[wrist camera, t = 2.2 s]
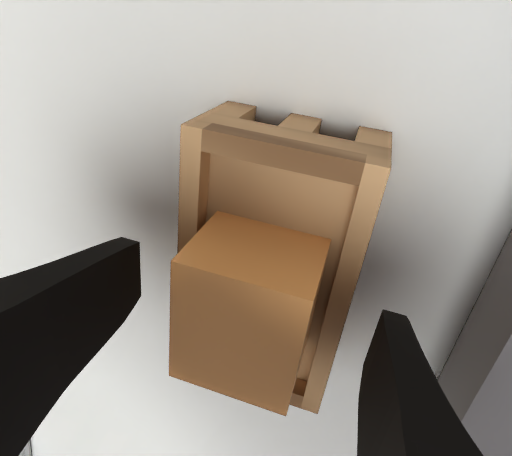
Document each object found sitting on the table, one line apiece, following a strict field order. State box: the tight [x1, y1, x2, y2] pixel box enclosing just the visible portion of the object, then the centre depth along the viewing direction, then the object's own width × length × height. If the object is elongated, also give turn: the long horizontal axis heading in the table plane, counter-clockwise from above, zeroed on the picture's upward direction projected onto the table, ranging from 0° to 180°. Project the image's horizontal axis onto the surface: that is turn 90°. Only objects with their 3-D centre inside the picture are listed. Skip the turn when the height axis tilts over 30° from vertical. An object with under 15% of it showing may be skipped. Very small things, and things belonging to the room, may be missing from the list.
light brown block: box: [169, 211, 331, 416], centre depth 12 cm, size 4×4×3 cm
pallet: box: [177, 101, 392, 414], centre depth 14 cm, size 9×5×4 cm, turn 173°
